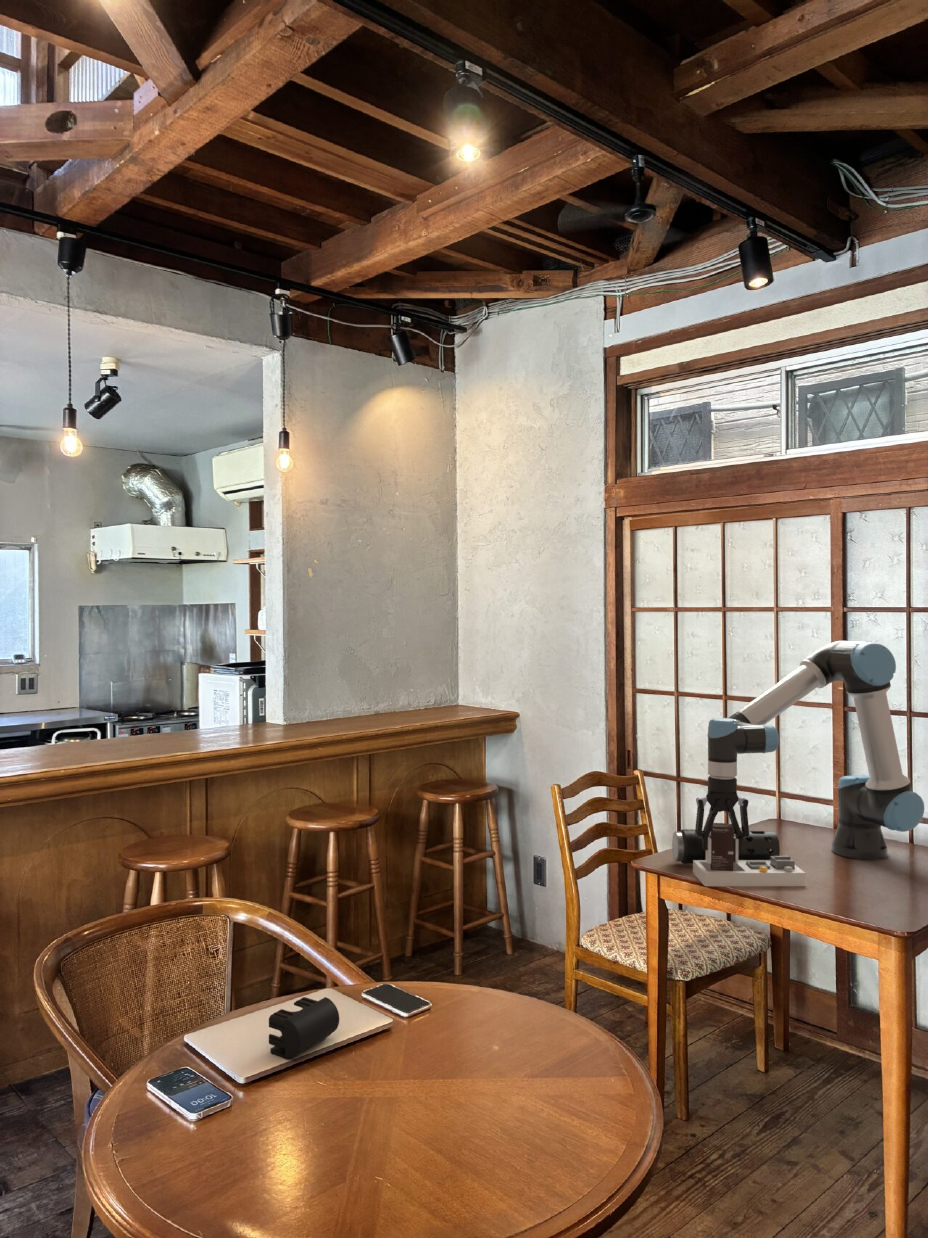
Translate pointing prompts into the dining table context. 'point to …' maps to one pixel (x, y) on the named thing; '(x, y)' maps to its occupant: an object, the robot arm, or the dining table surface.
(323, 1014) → the end cap
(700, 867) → the grey compartment tray
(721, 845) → the box
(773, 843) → the muzzle brake
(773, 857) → the button
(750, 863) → the button
